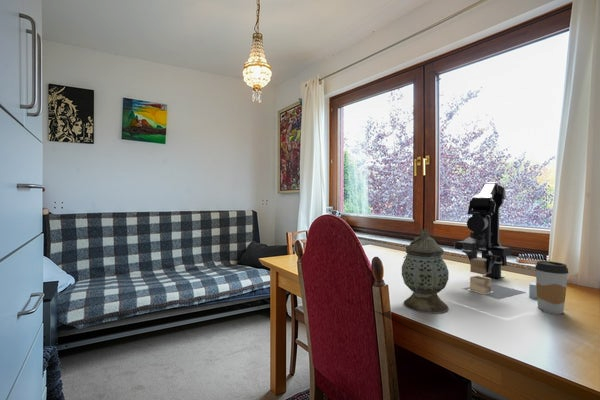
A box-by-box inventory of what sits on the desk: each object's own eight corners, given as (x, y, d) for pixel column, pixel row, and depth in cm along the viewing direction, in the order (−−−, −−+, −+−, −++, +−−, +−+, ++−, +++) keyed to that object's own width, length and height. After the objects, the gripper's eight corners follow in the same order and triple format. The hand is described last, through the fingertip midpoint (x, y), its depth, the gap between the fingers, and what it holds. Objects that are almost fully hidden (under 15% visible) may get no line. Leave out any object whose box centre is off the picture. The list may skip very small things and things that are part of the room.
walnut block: (478, 270, 121) (478, 257, 121) (491, 273, 117) (491, 259, 116) (470, 271, 119) (470, 258, 118) (483, 274, 114) (483, 261, 114)
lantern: (427, 317, 92) (428, 232, 92) (392, 302, 105) (393, 228, 104) (458, 309, 98) (459, 231, 98) (421, 296, 111) (422, 226, 111)
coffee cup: (560, 307, 101) (561, 261, 101) (573, 317, 93) (574, 267, 93) (530, 304, 104) (530, 259, 104) (540, 313, 96) (541, 264, 96)
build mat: (488, 283, 129) (488, 282, 129) (526, 293, 116) (526, 292, 116) (461, 289, 120) (461, 288, 120) (498, 300, 108) (499, 299, 108)
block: (532, 295, 114) (532, 281, 114) (549, 298, 111) (549, 284, 111) (529, 298, 111) (529, 284, 111) (546, 301, 107) (547, 287, 107)
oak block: (477, 288, 121) (478, 275, 121) (491, 291, 117) (491, 278, 116) (470, 289, 119) (470, 276, 119) (483, 293, 114) (483, 279, 114)
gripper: (445, 228, 122) (445, 268, 122) (494, 233, 105) (493, 279, 106) (463, 227, 127) (462, 265, 127) (512, 232, 111) (511, 275, 111)
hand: (480, 270), depth 118 cm, fingers closed on walnut block, 5 cm apart
